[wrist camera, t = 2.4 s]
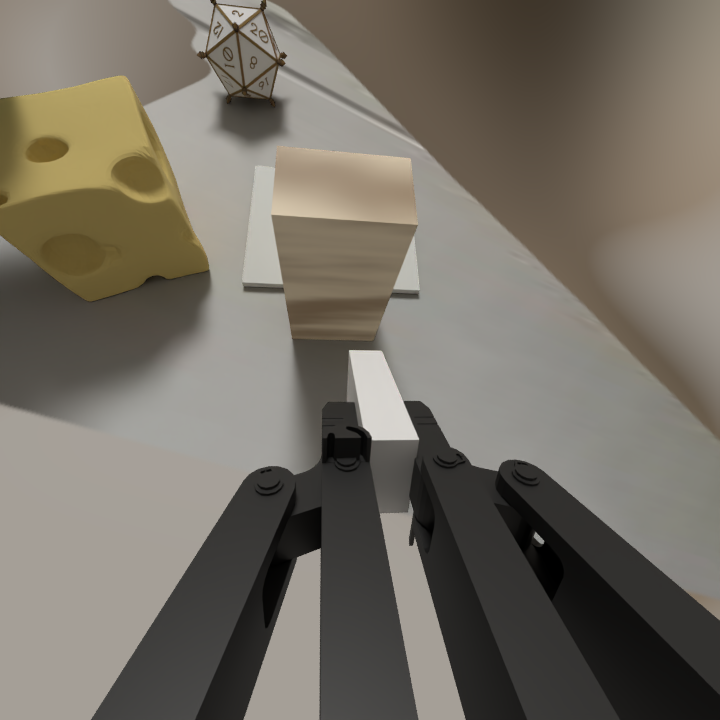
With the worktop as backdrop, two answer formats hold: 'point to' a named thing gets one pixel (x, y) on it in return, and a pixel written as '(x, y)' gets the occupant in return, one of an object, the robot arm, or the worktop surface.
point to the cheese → (92, 190)
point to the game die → (243, 51)
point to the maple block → (340, 238)
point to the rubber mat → (263, 249)
